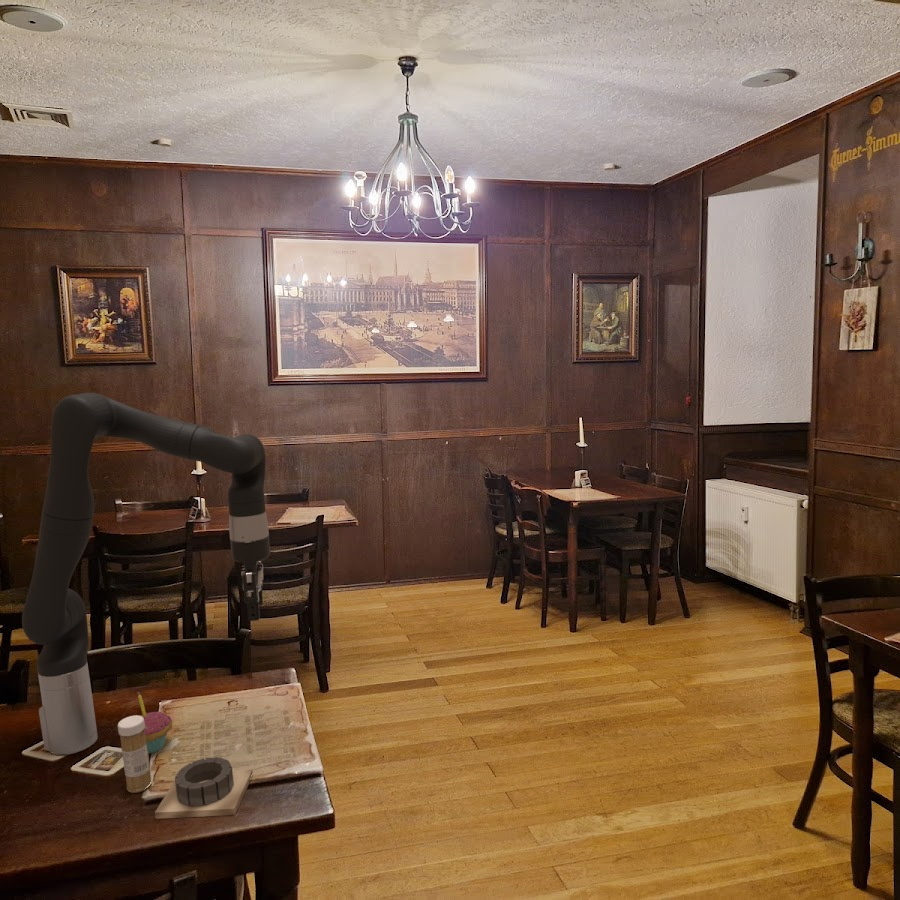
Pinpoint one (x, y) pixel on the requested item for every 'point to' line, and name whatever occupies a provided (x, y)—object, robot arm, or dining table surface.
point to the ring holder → (205, 790)
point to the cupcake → (155, 728)
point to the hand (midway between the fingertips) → (255, 612)
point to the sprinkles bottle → (134, 753)
